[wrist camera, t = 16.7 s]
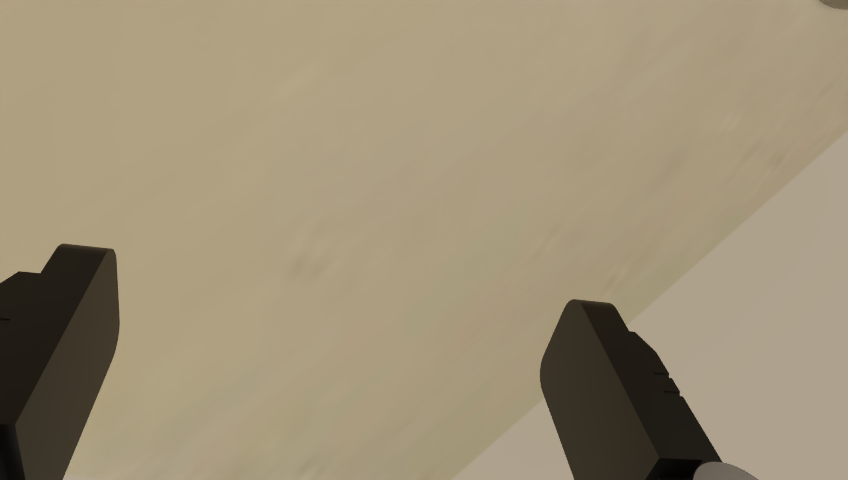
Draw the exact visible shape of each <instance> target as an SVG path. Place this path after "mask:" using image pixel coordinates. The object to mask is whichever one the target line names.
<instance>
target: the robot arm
mask: <svg viewBox="0 0 848 480" xmlns="http://www.w3.org/2000/svg"><path fill="white" fill-rule="evenodd" d="M820 1H821V2H823V3H824V4H825V5H828V6H830V7H833V8H838V9H845V10H848V0H820ZM119 323H120V322H119V300H118V281H117V262H116V254H115V252H114V250H113V249H108V248H99V247H90V246H80V245H71V244H61V245H59V246H58V247H57V249H56V250H55V252H54V253H53V255H52V256H51V258H50V259H49V261H48V262H47V264H46V265H45V267H44V268H43V270H42V271H41V273H30V272H20V271H19V272H17V273H16V274H14V275H13V276H11V277H9V278H8V279H6V280H5V281H3V282H2V283H0V480H63V477H64V475H65V472H66V470H67V468H68V465H69V463H70V460H71V458H72V455H73V453H74V451H75V448H76V446H77V443H78V441H79V439H80V436H81V434H82V431H83V429H84V427H85V424H86V422H87V419H88V417H89V415H90V412H91V410H92V407H93V405H94V402H95V400H96V398H97V395H98V393H99V390H100V388H101V386H102V383H103V381H104V378H105V376H106V374H107V371H108V369H109V366H110V364H111V362H112V359H113V356H114V353H115V350H116V346H117V341H118V335H119ZM540 382H541V388H542V391H543V394H544V397H545V400H546V402H547V405H548V408H549V411H550V413H551V416H552V419H553V422H554V424H555V427H556V430H557V433H558V435H559V438H560V441H561V444H562V447H563V449H564V452H565V455H566V457H567V460H568V463H569V466H570V468H571V471H572V474H573V477H574V480H758V479H757V478H755V477H754V476H752V475H751V474H749V473H748V472H746V471H744V470H742V469H740V468H738V467H736V466H733V465H730V464H727V463H723V462H722V461H721V460H720V457H719V456H718V454H717V452H716V451H715V449H714V447H713V446H712V444H711V442H710V441H709V439H708V437H707V436H706V434H705V432H704V431H703V429H702V427H701V426H700V424H699V423H698V421H697V419H696V418H695V416H694V414H693V413H692V411H691V409H690V408H689V406H688V404H687V403H686V401H685V399H684V398H683V397H682V396H680V391H679V389H678V388H677V386H676V385H675V383H674V381H673V379H672V378H669V373H668V371H667V370H666V368H665V366H664V365H663V363H662V361H661V360H660V358H659V356H658V355H657V353H656V352H655V351H654V350H653V349H652V348H651V347H650V346H649V345H648V344H647V343H646V342H645V341H643V339H642V338H641V337H639V336H638V335H637V334H636V333H635V332H630V331H629V330H628V328H627V327H626V325H625V323H624V321H623V320H622V318H621V316H620V314H619V313H618V311H617V309H616V308H615V306H613V305H612V304H611V303H604V302H595V301H585V300H576V299H573V300H571V301H569V302H568V303H567V305H566V306H565V308H564V310H563V312H562V315H561V317H560V319H559V322H558V324H557V326H556V328H555V331H554V333H553V335H552V337H551V340H550V342H549V344H548V347H547V349H546V351H545V353H544V356H543V358H542V362H541V368H540Z"/></svg>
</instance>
